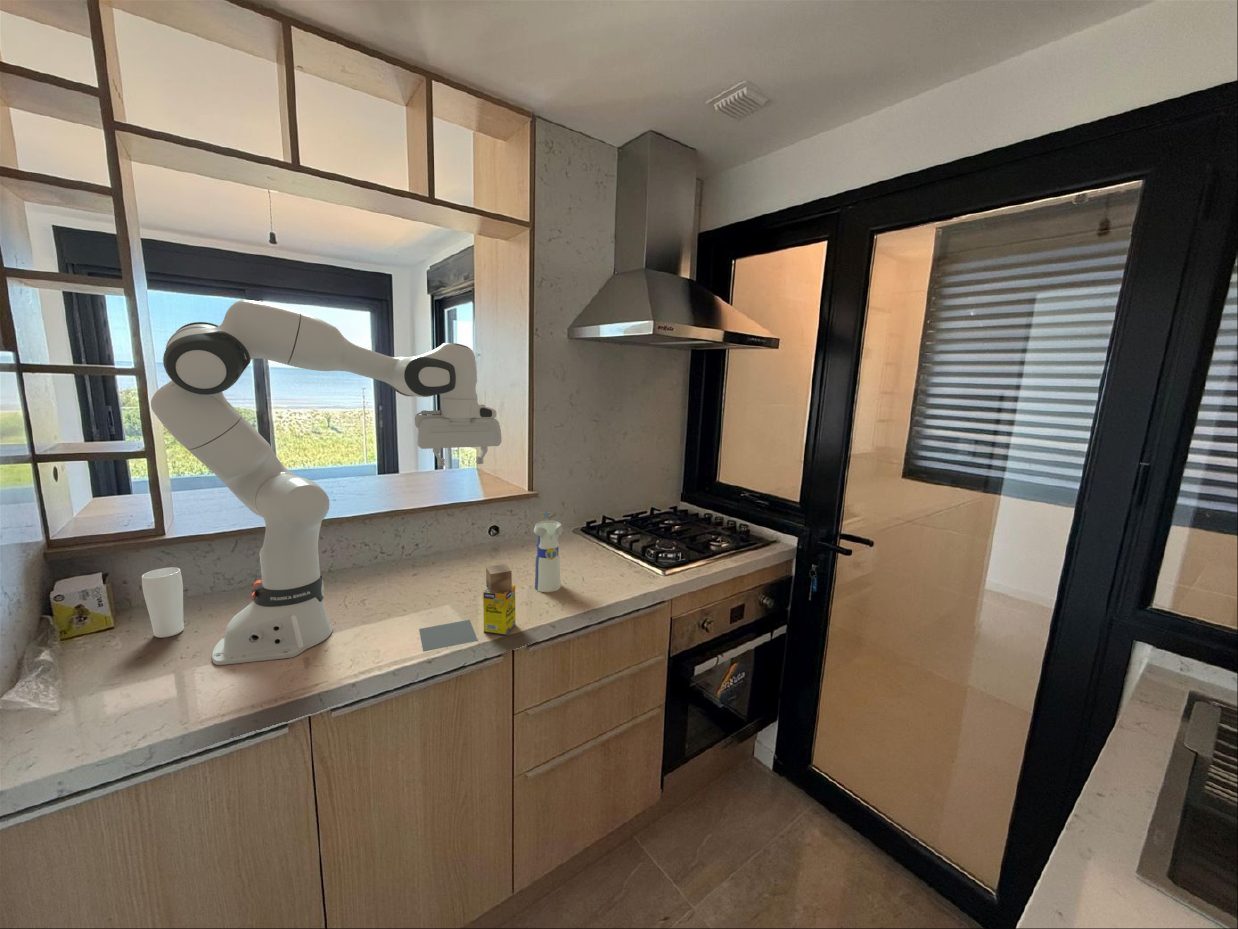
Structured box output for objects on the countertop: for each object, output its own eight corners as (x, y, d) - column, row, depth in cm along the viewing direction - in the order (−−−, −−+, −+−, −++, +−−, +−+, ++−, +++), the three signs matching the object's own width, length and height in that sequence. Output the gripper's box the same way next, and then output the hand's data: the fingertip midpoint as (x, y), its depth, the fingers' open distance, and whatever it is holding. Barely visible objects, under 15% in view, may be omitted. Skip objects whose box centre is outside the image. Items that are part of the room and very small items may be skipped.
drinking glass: (157, 628, 119) (149, 569, 116) (193, 624, 121) (185, 565, 119) (144, 642, 112) (134, 580, 110) (181, 637, 115) (173, 576, 113)
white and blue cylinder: (566, 589, 147) (567, 507, 142) (538, 594, 143) (538, 510, 139) (557, 579, 154) (558, 501, 150) (530, 583, 150) (530, 503, 146)
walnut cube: (490, 594, 117) (490, 574, 116) (486, 586, 122) (486, 566, 121) (511, 590, 119) (511, 571, 118) (506, 582, 124) (506, 563, 123)
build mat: (423, 653, 111) (423, 651, 111) (419, 630, 121) (419, 628, 121) (477, 641, 117) (477, 640, 117) (469, 621, 126) (469, 619, 126)
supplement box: (506, 637, 119) (505, 594, 117) (483, 634, 120) (482, 592, 118) (516, 625, 125) (515, 584, 123) (494, 623, 126) (493, 582, 124)
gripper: (415, 411, 117) (418, 469, 119) (502, 410, 126) (503, 464, 128) (413, 409, 122) (415, 464, 124) (497, 409, 131) (497, 460, 133)
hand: (461, 464), depth 126 cm, fingers open, 8 cm apart
